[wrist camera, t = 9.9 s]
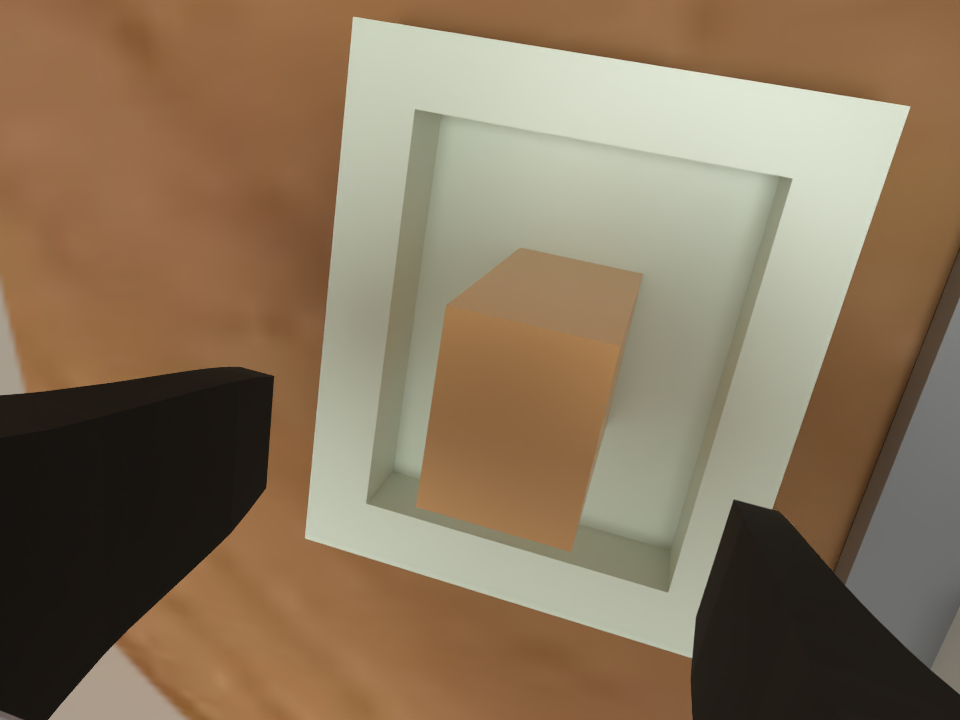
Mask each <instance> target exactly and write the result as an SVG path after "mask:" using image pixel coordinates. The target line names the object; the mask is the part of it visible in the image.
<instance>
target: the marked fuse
mask: <svg viewBox="0 0 960 720" xmlns="http://www.w3.org/2000/svg"><path fill="white" fill-rule="evenodd" d="M642 276H643V274H641V273H637V272H632V271H627V270H623V269H618V268H613V267H609V266H604V265H599V264H595V263H590V262H585V261H581V260H576V259H571V258H567V257H562V256H557V255H553V254H548V253H543V252H539V251H534V250H529V249H525V248H519V249H518V250H516V251H515V252H514V253H513V254H511V255H510V256H509V257H507V258H506V259H505V260H504V261H502V262H501V263H500V264H498V265H497V266H496V267H495V268H493V269H492V270H491V271H489V272H488V273H487V274H486V275H484V276H483V277H482V278H481V279H479V280H478V281H477V282H475V283H474V284H473V285H472V286H470V287H469V288H468V289H466V290H465V291H464V292H463V293H461V294H460V295H459V296H457V297H456V298H455V299H454V300H452V301H451V302H450V303H448V304H447V305H446V309H445V315H444V322H443V329H442V335H441V342H440V349H439V356H438V362H437V369H436V376H435V382H434V389H433V396H432V402H431V409H430V416H429V422H428V429H427V436H426V442H425V449H424V456H423V462H422V469H421V476H420V482H419V489H418V496H417V502H416V507H418V508H421V509H425V510H428V511H431V512H435V513H438V514H442V515H445V516H449V517H452V518H455V519H459V520H462V521H466V522H469V523H473V524H476V525H479V526H483V527H486V528H490V529H493V530H497V531H500V532H504V533H507V534H510V535H514V536H517V537H521V538H524V539H528V540H531V541H534V542H538V543H541V544H545V545H548V546H552V547H555V548H558V549H562V550H565V551H569V552H571V551H572V548H573V544H574V540H575V537H576V533H577V530H578V526H579V522H580V519H581V515H582V512H583V508H584V504H585V501H586V497H587V493H588V490H589V486H590V483H591V479H592V475H593V472H594V468H595V465H596V461H597V457H598V454H599V450H600V446H601V443H602V439H603V436H604V432H605V428H606V425H607V421H608V416H609V412H610V408H611V404H612V400H613V396H614V392H615V387H616V383H617V379H618V375H619V371H620V367H621V363H622V358H623V354H624V350H625V346H626V342H627V338H628V334H629V330H630V325H631V321H632V317H633V313H634V309H635V305H636V301H637V296H638V292H639V288H640V284H641V280H642Z"/></svg>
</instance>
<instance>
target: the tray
mask: <svg viewBox="0 0 960 720" xmlns="http://www.w3.org/2000/svg"><path fill="white" fill-rule="evenodd" d="M909 109H910V106H904V105H898V104H892V103H886V102H879V101H873V100H867V99H861V98H854V97H848V96H842V95H836V94H830V93H823V92H817V91H811V90H805V89H799V88H792V87H786V86H780V85H774V84H768V83H761V82H755V81H749V80H743V79H737V78H730V77H724V76H718V75H712V74H705V73H699V72H693V71H687V70H681V69H674V68H668V67H662V66H656V65H650V64H643V63H637V62H631V61H625V60H619V59H612V58H606V57H600V56H594V55H588V54H581V53H575V52H569V51H563V50H556V49H550V48H544V47H538V46H532V45H525V44H519V43H513V42H507V41H501V40H494V39H488V38H482V37H476V36H470V35H463V34H457V33H451V32H445V31H439V30H432V29H426V28H420V27H414V26H407V25H401V24H395V23H389V22H383V21H376V20H370V19H364V18H358V17H353V25H352V36H351V46H350V57H349V68H348V79H347V90H346V101H345V111H344V122H343V133H342V144H341V155H340V166H339V176H338V187H337V198H336V209H335V220H334V230H333V241H332V252H331V263H330V274H329V285H328V295H327V306H326V317H325V328H324V339H323V349H322V360H321V371H320V382H319V393H318V404H317V414H316V425H315V436H314V447H313V458H312V469H311V479H310V490H309V501H308V512H307V523H306V533H305V539H309V540H312V541H315V542H318V543H322V544H325V545H328V546H331V547H334V548H338V549H341V550H344V551H347V552H351V553H354V554H357V555H360V556H364V557H367V558H370V559H373V560H376V561H380V562H383V563H386V564H389V565H393V566H396V567H399V568H402V569H406V570H409V571H412V572H415V573H418V574H422V575H425V576H428V577H431V578H435V579H438V580H441V581H444V582H448V583H451V584H454V585H457V586H460V587H464V588H467V589H470V590H473V591H477V592H480V593H483V594H486V595H489V596H493V597H496V598H499V599H502V600H506V601H509V602H512V603H515V604H519V605H522V606H525V607H528V608H531V609H535V610H538V611H541V612H544V613H548V614H551V615H554V616H557V617H561V618H564V619H567V620H570V621H573V622H577V623H580V624H583V625H586V626H590V627H593V628H596V629H599V630H603V631H606V632H609V633H612V634H615V635H619V636H622V637H625V638H628V639H632V640H635V641H638V642H641V643H645V644H648V645H651V646H654V647H657V648H661V649H664V650H667V651H670V652H674V653H677V654H680V655H683V656H686V657H690V658H692V655H693V644H694V632H695V621H696V615H697V612H698V609H699V606H700V603H701V600H702V596H703V593H704V590H705V587H706V584H707V581H708V578H709V575H710V572H711V568H712V565H713V562H714V559H715V556H716V553H717V550H718V547H719V543H720V540H721V537H722V534H723V531H724V528H725V525H726V522H727V518H728V515H729V512H730V509H731V506H732V503H733V500H734V499H735V500H738V501H742V502H746V503H750V504H753V505H757V506H761V507H764V508H768V509H772V508H773V505H774V502H775V499H776V496H777V494H778V491H779V488H780V485H781V482H782V479H783V476H784V473H785V470H786V467H787V464H788V462H789V459H790V456H791V453H792V450H793V447H794V444H795V441H796V438H797V435H798V432H799V429H800V427H801V424H802V421H803V418H804V415H805V412H806V409H807V406H808V403H809V400H810V397H811V395H812V392H813V389H814V386H815V383H816V380H817V377H818V374H819V371H820V368H821V365H822V362H823V360H824V357H825V354H826V351H827V348H828V345H829V342H830V339H831V336H832V333H833V330H834V328H835V325H836V322H837V319H838V316H839V313H840V310H841V307H842V304H843V301H844V298H845V295H846V293H847V290H848V287H849V284H850V281H851V278H852V275H853V272H854V269H855V266H856V263H857V261H858V258H859V255H860V252H861V249H862V246H863V243H864V240H865V237H866V234H867V231H868V228H869V226H870V223H871V220H872V217H873V214H874V211H875V208H876V205H877V202H878V199H879V196H880V194H881V191H882V188H883V185H884V182H885V179H886V176H887V173H888V170H889V167H890V164H891V161H892V159H893V156H894V153H895V150H896V147H897V144H898V141H899V138H900V135H901V132H902V129H903V127H904V124H905V121H906V118H907V115H908V112H909ZM519 248H525V249H529V250H534V251H539V252H543V253H548V254H553V255H557V256H562V257H567V258H571V259H576V260H581V261H585V262H590V263H595V264H599V265H604V266H609V267H613V268H618V269H623V270H627V271H632V272H637V273H641V274H643V276H642V280H641V284H640V288H639V292H638V296H637V301H636V305H635V309H634V313H633V317H632V321H631V325H630V330H629V334H628V338H627V342H626V346H625V350H624V354H623V358H622V363H621V367H620V371H619V375H618V379H617V383H616V387H615V392H614V396H613V400H612V404H611V408H610V412H609V416H608V421H607V425H606V428H605V432H604V436H603V439H602V443H601V446H600V450H599V454H598V457H597V461H596V465H595V468H594V472H593V475H592V479H591V483H590V486H589V490H588V493H587V497H586V501H585V504H584V508H583V512H582V515H581V519H580V522H579V526H578V530H577V533H576V537H575V540H574V544H573V548H572V551H571V552H569V551H565V550H562V549H558V548H555V547H552V546H548V545H545V544H541V543H538V542H534V541H531V540H528V539H524V538H521V537H517V536H514V535H510V534H507V533H504V532H500V531H497V530H493V529H490V528H486V527H483V526H479V525H476V524H473V523H469V522H466V521H462V520H459V519H455V518H452V517H449V516H445V515H442V514H438V513H435V512H431V511H428V510H425V509H421V508H418V507H416V502H417V496H418V489H419V482H420V476H421V469H422V462H423V456H424V449H425V442H426V436H427V429H428V422H429V416H430V409H431V402H432V396H433V389H434V382H435V376H436V369H437V362H438V356H439V349H440V342H441V335H442V329H443V322H444V315H445V309H446V305H447V304H448V303H450V302H451V301H452V300H454V299H455V298H456V297H457V296H459V295H460V294H461V293H463V292H464V291H465V290H466V289H468V288H469V287H470V286H472V285H473V284H474V283H475V282H477V281H478V280H479V279H481V278H482V277H483V276H484V275H486V274H487V273H488V272H489V271H491V270H492V269H493V268H495V267H496V266H497V265H498V264H500V263H501V262H502V261H504V260H505V259H506V258H507V257H509V256H510V255H511V254H513V253H514V252H515V251H516V250H518V249H519Z"/></svg>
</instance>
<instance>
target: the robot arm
mask: <svg viewBox="0 0 960 720" xmlns="http://www.w3.org/2000/svg"><path fill="white" fill-rule="evenodd" d="M273 383H274V376H272V375H268V374H264V373H261V372H257V371H253V370H249V369H246V368H242V367H219V368H208V369H200V370H192V371H185V372H178V373H172V374H165V375H159V376H152V377H146V378H140V379H133V380H127V381H120V382H114V383H106V384H99V385H91V386H83V387H76V388H68V389H60V390H53V391H45V392H35V393H24V394H13V395H0V720H48V719H49V718H50V717H51V715H52V714H53V713H54V712H55V711H56V709H57V708H58V707H59V706H60V704H61V703H62V702H63V701H64V700H65V699H66V698H67V696H68V695H69V694H70V693H71V692H72V691H73V689H74V688H75V687H76V686H77V685H78V683H80V681H81V680H82V679H83V678H84V677H85V676H86V674H87V673H88V672H89V671H90V670H91V669H92V668H93V667H94V665H95V664H96V663H97V662H98V660H100V659H101V657H102V656H103V655H104V654H105V653H106V652H107V651H108V650H109V649H110V648H111V647H112V646H113V645H114V644H115V643H116V642H117V641H118V640H119V639H120V638H121V636H122V635H123V634H124V633H125V632H126V631H127V630H128V629H129V628H130V627H132V626H133V625H134V624H135V623H136V622H137V621H138V620H139V619H140V618H141V617H142V616H143V615H144V614H145V613H147V612H148V611H149V610H150V609H151V608H152V607H153V606H154V605H155V604H156V603H157V602H158V601H159V600H161V599H162V598H163V597H164V596H165V595H166V594H167V593H168V592H169V591H170V590H171V589H172V588H173V587H175V586H176V585H177V584H178V583H179V582H180V581H181V580H182V579H183V578H184V577H185V576H186V575H187V574H188V573H190V572H191V571H192V570H193V569H194V568H195V567H196V566H197V565H198V564H199V563H200V562H201V561H202V560H203V559H204V558H205V557H207V556H208V555H209V554H210V553H211V552H212V551H213V550H214V549H215V548H216V547H217V546H218V545H219V544H220V543H221V542H222V541H223V540H224V539H225V538H226V537H227V536H228V535H229V534H230V533H231V532H232V531H233V530H234V529H235V527H236V526H237V525H238V524H239V522H240V521H241V520H242V519H243V518H244V516H245V515H246V514H247V513H248V511H249V510H250V509H251V507H252V506H253V505H254V503H255V502H256V501H257V499H258V498H259V497H260V495H261V494H262V493H263V491H264V490H265V489H266V483H267V468H268V454H269V440H270V426H271V412H272V398H273ZM691 695H692V715H693V720H960V694H959V693H958V692H956V691H955V690H954V689H953V688H952V687H950V686H949V685H948V684H947V683H946V682H944V681H943V680H942V679H941V678H940V677H939V676H937V675H936V674H935V673H934V672H933V671H931V670H930V669H929V668H928V667H927V666H926V665H925V664H924V663H922V662H921V661H920V660H919V659H918V658H917V657H916V656H915V655H914V654H913V653H911V652H910V651H909V650H908V649H907V648H906V647H905V646H904V645H903V644H902V643H901V642H900V641H899V640H898V639H897V638H896V637H895V636H894V635H893V634H892V633H891V632H890V631H889V630H888V629H887V628H886V627H885V626H884V625H883V624H882V623H881V622H880V621H879V620H878V619H877V618H876V617H875V616H874V615H873V614H872V613H871V612H870V611H869V610H868V609H867V608H866V607H865V606H864V605H863V604H862V603H861V602H860V601H859V600H858V599H857V598H856V597H855V596H854V594H853V593H852V592H851V591H850V590H849V589H848V588H847V587H846V586H845V585H844V584H843V582H842V581H841V580H840V579H839V578H838V577H837V576H836V575H835V574H834V572H833V571H832V570H831V569H830V568H829V567H828V566H827V564H826V563H825V562H824V561H823V560H822V559H821V558H820V556H819V555H818V554H817V553H816V552H815V551H814V549H813V548H812V547H811V546H810V545H809V544H808V543H807V541H806V540H805V539H804V538H803V537H802V536H801V534H800V533H799V532H798V531H797V530H796V529H795V528H794V527H793V525H792V524H791V523H790V522H789V521H788V520H787V519H786V518H785V517H784V516H783V515H782V514H781V513H780V512H779V511H776V510H772V509H768V508H764V507H761V506H757V505H753V504H750V503H746V502H742V501H738V500H735V499H734V500H733V503H732V506H731V509H730V512H729V515H728V518H727V522H726V525H725V528H724V531H723V534H722V537H721V540H720V543H719V547H718V550H717V553H716V556H715V559H714V562H713V565H712V568H711V572H710V575H709V578H708V581H707V584H706V587H705V590H704V593H703V596H702V600H701V603H700V606H699V609H698V612H697V615H696V621H695V632H694V644H693V655H692V669H691Z"/></svg>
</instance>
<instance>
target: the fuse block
mask: <svg viewBox="0 0 960 720" xmlns="http://www.w3.org/2000/svg"><path fill="white" fill-rule="evenodd" d="M834 574H835V575H836V576H837V577H838V578H839V579H840V580H841V581H842V582H843V584H844V585H845V586H846V587H847V588H848V589H849V590H850V591H851V592H852V593H853V594H854V596H855V597H856V598H857V599H858V600H859V601H860V602H861V603H862V604H863V605H864V606H865V607H866V608H867V609H868V610H869V611H870V612H871V613H872V614H873V615H874V616H875V617H876V618H877V619H878V620H879V621H880V622H881V623H882V624H883V625H884V626H885V627H886V628H887V629H888V630H889V631H890V632H891V633H892V634H893V635H894V636H895V637H896V638H897V639H898V640H899V641H900V642H901V643H902V644H903V645H904V646H905V647H906V648H907V649H908V650H909V651H910V652H911V653H913V654H914V655H915V656H916V657H917V658H918V659H919V660H920V661H921V662H922V663H924V664H925V665H926V666H927V667H928V668H929V669H930V670H931V671H933V672H934V673H935V674H936V675H937V676H939V677H940V678H941V679H942V680H943V681H944V682H946V683H947V684H948V685H949V686H950V687H952V688H953V689H954V690H955V691H956V692H958V693H959V694H960V251H959V253H958V256H957V258H956V261H955V263H954V266H953V268H952V271H951V274H950V276H949V279H948V281H947V284H946V286H945V289H944V292H943V294H942V297H941V299H940V302H939V304H938V307H937V309H936V312H935V315H934V317H933V320H932V322H931V325H930V327H929V330H928V333H927V335H926V338H925V340H924V343H923V345H922V348H921V351H920V353H919V356H918V358H917V361H916V363H915V366H914V368H913V371H912V374H911V376H910V379H909V381H908V384H907V386H906V389H905V392H904V394H903V397H902V399H901V402H900V404H899V407H898V409H897V412H896V415H895V417H894V420H893V422H892V425H891V427H890V430H889V433H888V435H887V438H886V440H885V443H884V445H883V448H882V451H881V453H880V456H879V458H878V461H877V463H876V466H875V468H874V471H873V474H872V476H871V479H870V481H869V484H868V486H867V489H866V492H865V494H864V497H863V499H862V502H861V504H860V507H859V509H858V512H857V515H856V517H855V520H854V522H853V525H852V527H851V530H850V533H849V535H848V538H847V540H846V543H845V545H844V548H843V551H842V553H841V556H840V558H839V561H838V563H837V566H836V568H835V571H834Z"/></svg>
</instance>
